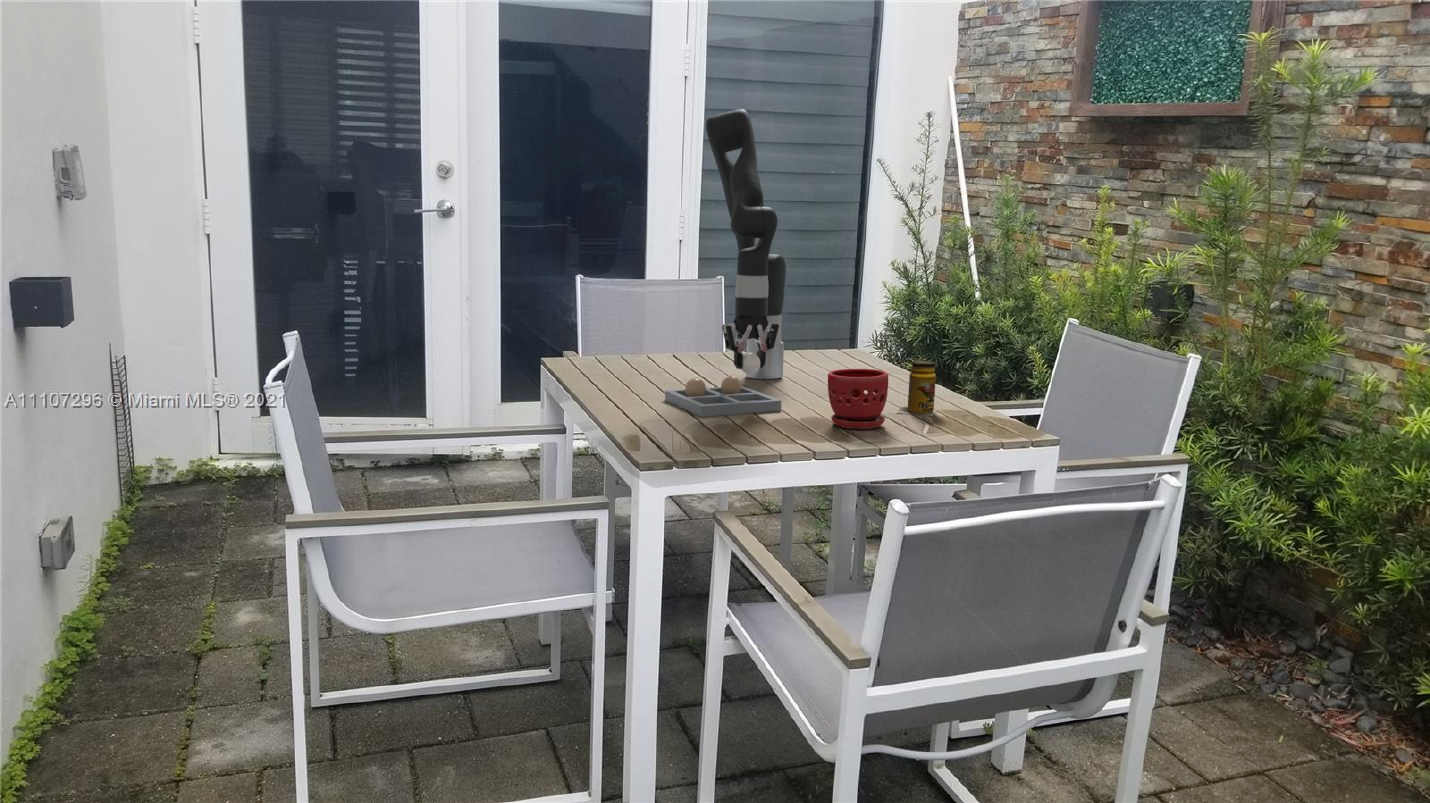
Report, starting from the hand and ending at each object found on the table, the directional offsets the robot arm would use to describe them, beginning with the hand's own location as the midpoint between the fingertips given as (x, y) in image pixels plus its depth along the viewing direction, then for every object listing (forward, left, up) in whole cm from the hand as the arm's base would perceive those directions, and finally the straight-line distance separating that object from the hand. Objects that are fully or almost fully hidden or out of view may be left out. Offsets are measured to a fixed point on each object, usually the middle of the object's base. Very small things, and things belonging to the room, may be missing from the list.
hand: (749, 367), depth 260 cm
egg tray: (+5, -5, -10) cm, 12 cm away
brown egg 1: (+9, -9, -6) cm, 15 cm away
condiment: (-35, +17, -10) cm, 41 cm away
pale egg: (0, 0, +1) cm, 1 cm away
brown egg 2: (0, -9, -6) cm, 11 cm away
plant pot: (-13, +25, -10) cm, 30 cm away
